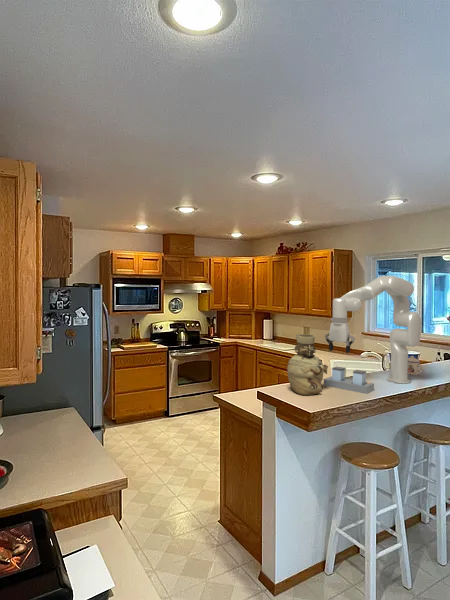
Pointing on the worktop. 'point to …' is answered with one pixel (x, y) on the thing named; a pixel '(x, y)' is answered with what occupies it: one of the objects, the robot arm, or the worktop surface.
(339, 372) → the plug
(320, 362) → the ceramic vessel
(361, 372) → the twin plug
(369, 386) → the grey slotted holder
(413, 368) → the teacup with lid
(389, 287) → the robot arm
